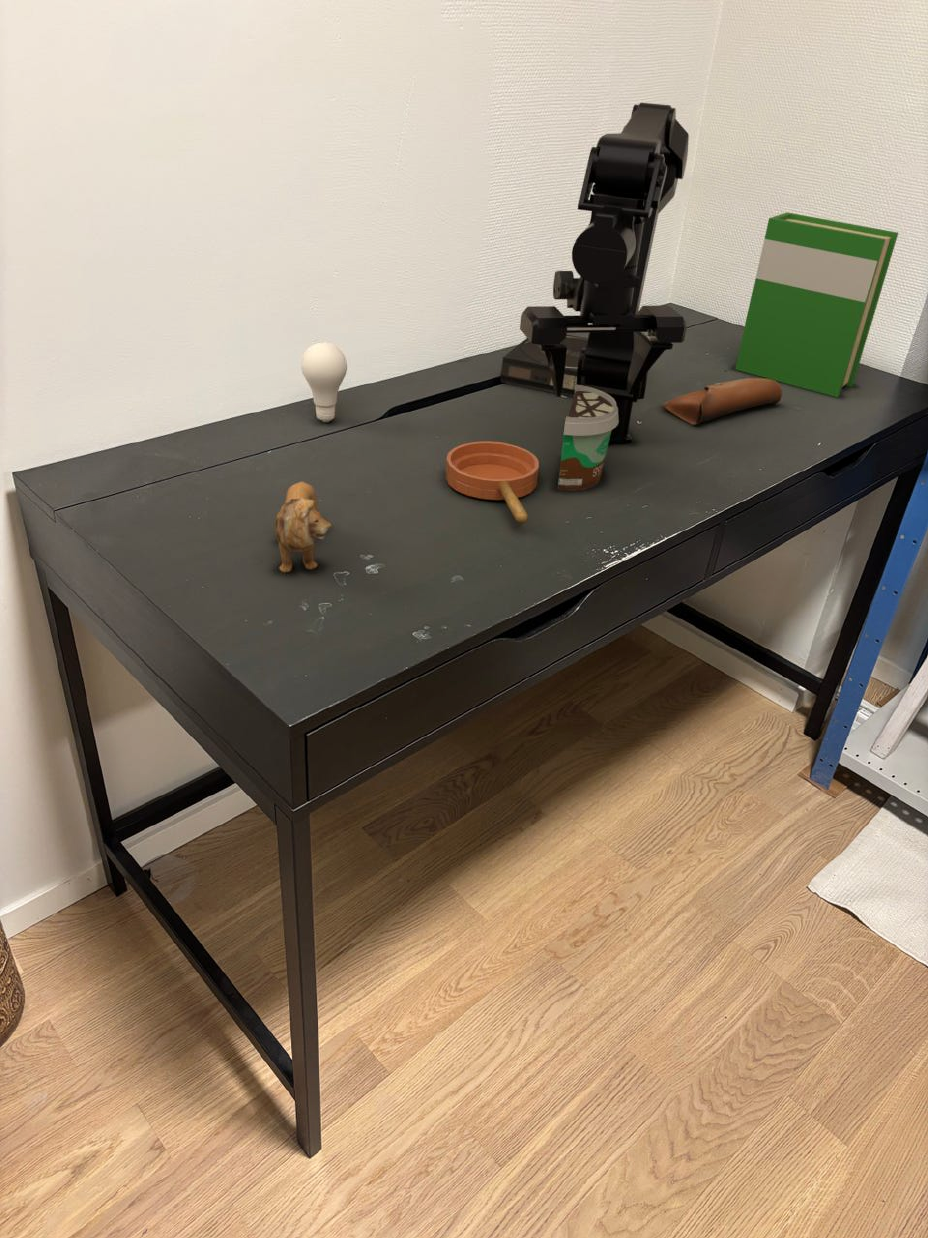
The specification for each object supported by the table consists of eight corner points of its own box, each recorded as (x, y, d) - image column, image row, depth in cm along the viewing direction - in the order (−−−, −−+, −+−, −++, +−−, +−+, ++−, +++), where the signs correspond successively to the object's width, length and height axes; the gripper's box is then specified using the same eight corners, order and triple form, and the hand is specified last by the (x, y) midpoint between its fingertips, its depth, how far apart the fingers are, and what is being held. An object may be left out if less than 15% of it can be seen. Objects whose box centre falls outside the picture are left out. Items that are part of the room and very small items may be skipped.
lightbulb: (355, 417, 133) (354, 340, 127) (336, 433, 128) (334, 353, 122) (315, 410, 134) (313, 333, 128) (295, 425, 130) (292, 346, 123)
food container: (605, 502, 116) (617, 425, 110) (555, 494, 117) (565, 418, 111) (612, 461, 126) (624, 388, 120) (566, 454, 127) (576, 382, 121)
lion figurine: (333, 587, 96) (331, 508, 91) (280, 591, 95) (275, 511, 90) (318, 518, 108) (316, 445, 103) (271, 521, 107) (266, 447, 102)
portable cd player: (499, 383, 148) (501, 358, 145) (535, 352, 161) (537, 329, 159) (600, 403, 143) (604, 378, 141) (628, 370, 156) (632, 346, 154)
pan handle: (508, 489, 114) (508, 478, 113) (528, 525, 107) (529, 514, 106) (496, 489, 113) (497, 479, 113) (516, 525, 106) (517, 514, 105)
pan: (522, 460, 124) (524, 439, 123) (547, 500, 115) (550, 478, 113) (437, 464, 122) (438, 443, 120) (456, 505, 113) (457, 482, 111)
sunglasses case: (738, 385, 151) (763, 357, 146) (762, 419, 149) (789, 392, 144) (658, 405, 142) (682, 375, 137) (683, 442, 140) (708, 413, 135)
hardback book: (852, 385, 156) (898, 232, 143) (837, 397, 151) (883, 239, 138) (752, 359, 164) (787, 212, 151) (735, 369, 159) (768, 218, 146)
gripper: (662, 244, 115) (641, 369, 123) (514, 243, 111) (503, 372, 120) (699, 269, 106) (674, 402, 115) (539, 269, 102) (526, 406, 111)
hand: (593, 394), depth 115 cm, fingers open, 9 cm apart
